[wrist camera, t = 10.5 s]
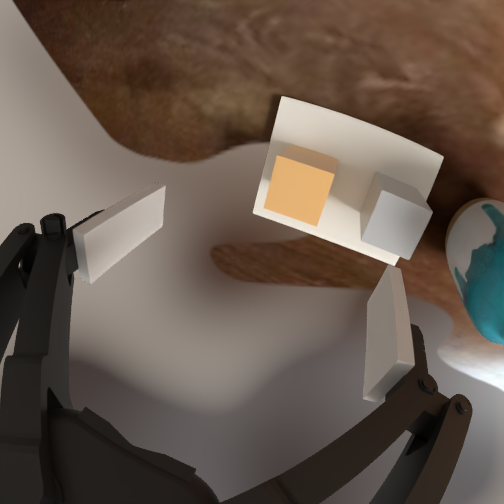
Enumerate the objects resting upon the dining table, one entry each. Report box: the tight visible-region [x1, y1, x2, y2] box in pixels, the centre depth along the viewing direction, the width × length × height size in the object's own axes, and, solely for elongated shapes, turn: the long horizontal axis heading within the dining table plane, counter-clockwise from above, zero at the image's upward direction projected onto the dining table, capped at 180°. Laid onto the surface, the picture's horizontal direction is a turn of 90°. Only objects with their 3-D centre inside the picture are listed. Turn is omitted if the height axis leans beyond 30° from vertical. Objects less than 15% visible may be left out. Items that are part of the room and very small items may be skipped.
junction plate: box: [253, 96, 444, 266], centre depth 27 cm, size 18×14×8 cm
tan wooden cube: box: [264, 144, 338, 227], centre depth 28 cm, size 5×5×7 cm
